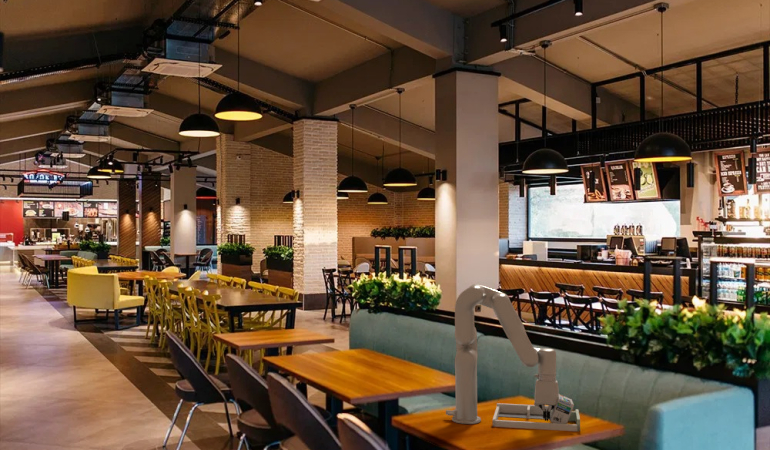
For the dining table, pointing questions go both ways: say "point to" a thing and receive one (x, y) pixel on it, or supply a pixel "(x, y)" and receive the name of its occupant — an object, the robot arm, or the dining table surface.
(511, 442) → the dining table surface
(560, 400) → the light bulb box
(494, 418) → the frame
